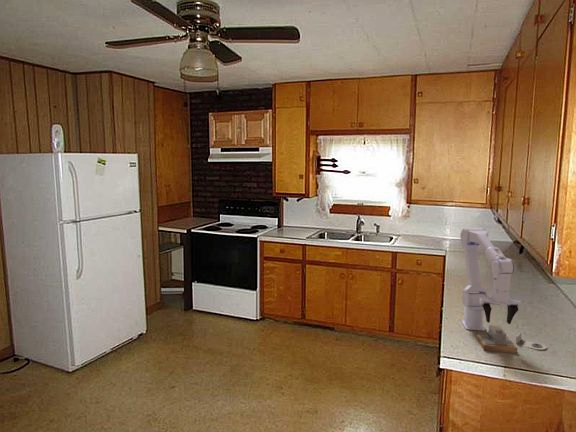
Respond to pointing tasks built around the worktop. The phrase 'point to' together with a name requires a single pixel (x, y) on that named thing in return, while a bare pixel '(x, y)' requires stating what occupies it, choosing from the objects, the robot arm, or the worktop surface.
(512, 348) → the stand
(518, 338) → the bracket
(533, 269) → the worktop surface
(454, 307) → the worktop surface
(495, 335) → the housing
